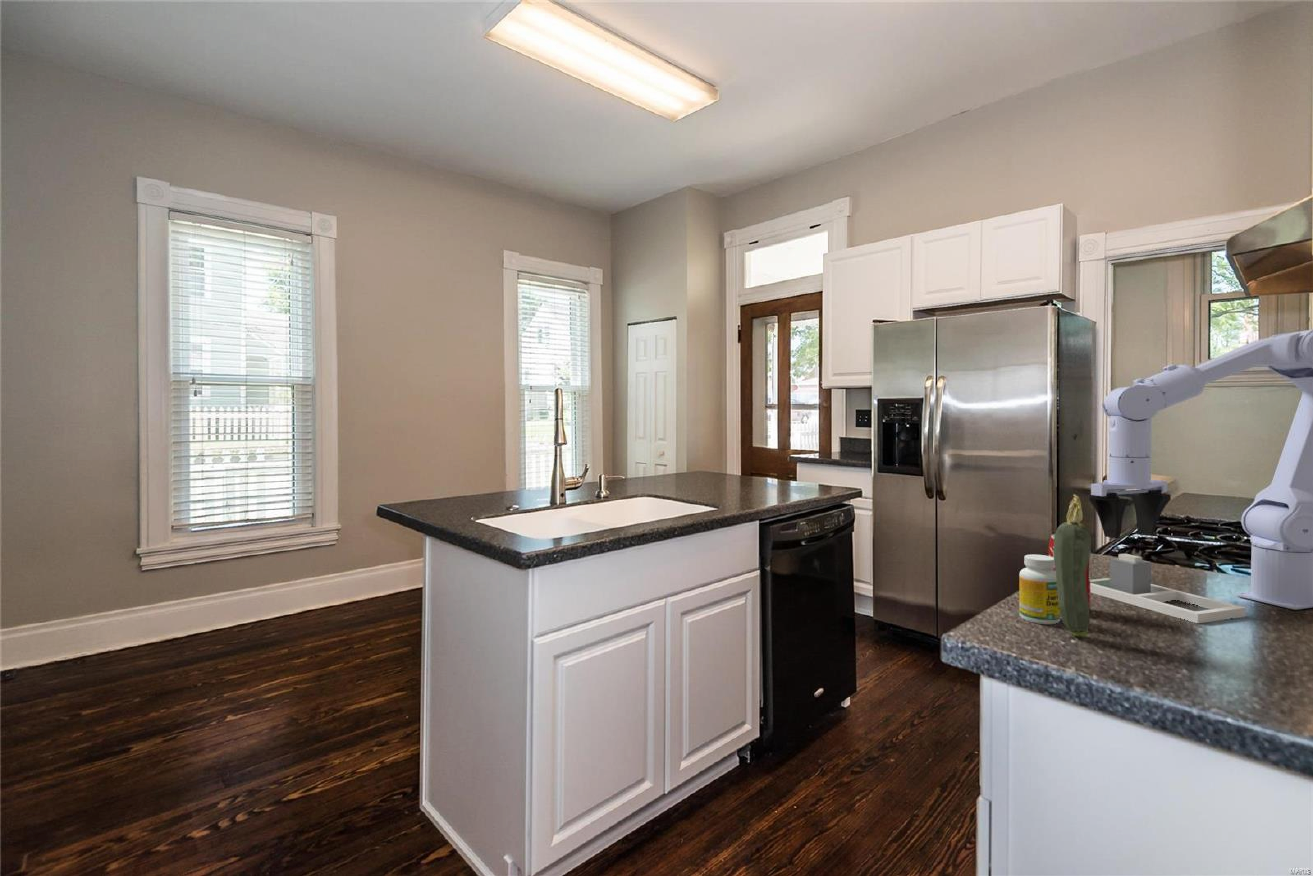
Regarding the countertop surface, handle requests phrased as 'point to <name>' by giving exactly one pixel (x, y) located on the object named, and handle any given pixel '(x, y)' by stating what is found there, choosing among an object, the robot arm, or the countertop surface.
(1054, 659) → the countertop surface
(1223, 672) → the countertop surface
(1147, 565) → the plug
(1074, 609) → the vegetable
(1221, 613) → the frame
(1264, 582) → the robot arm
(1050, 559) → the supplement bottle
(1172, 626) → the countertop surface
